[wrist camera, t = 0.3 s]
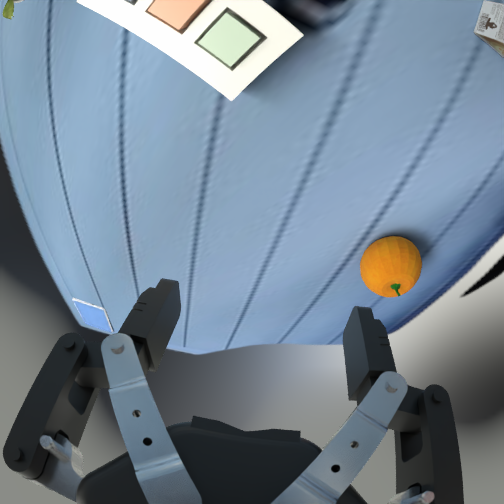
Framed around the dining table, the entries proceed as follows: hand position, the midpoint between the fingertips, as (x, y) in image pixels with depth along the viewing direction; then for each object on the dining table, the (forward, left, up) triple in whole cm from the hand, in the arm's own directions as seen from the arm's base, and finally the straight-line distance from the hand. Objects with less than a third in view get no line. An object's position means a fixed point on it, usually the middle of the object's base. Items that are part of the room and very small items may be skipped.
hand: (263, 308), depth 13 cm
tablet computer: (+3, -90, -29) cm, 95 cm away
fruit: (+34, -5, -29) cm, 45 cm away
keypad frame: (-16, +2, -29) cm, 33 cm away
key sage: (-9, +2, -26) cm, 28 cm away
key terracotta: (-16, +2, -26) cm, 31 cm away
